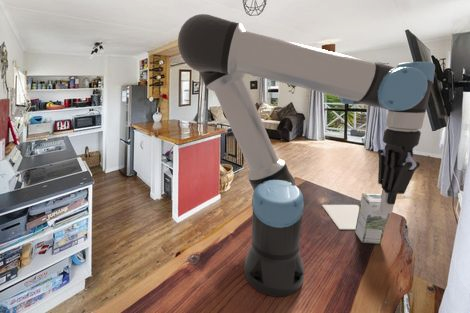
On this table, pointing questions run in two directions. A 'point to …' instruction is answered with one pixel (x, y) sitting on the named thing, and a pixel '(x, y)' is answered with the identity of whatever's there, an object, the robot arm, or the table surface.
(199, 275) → the table surface
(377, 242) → the syrup box
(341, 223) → the mat
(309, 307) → the table surface
